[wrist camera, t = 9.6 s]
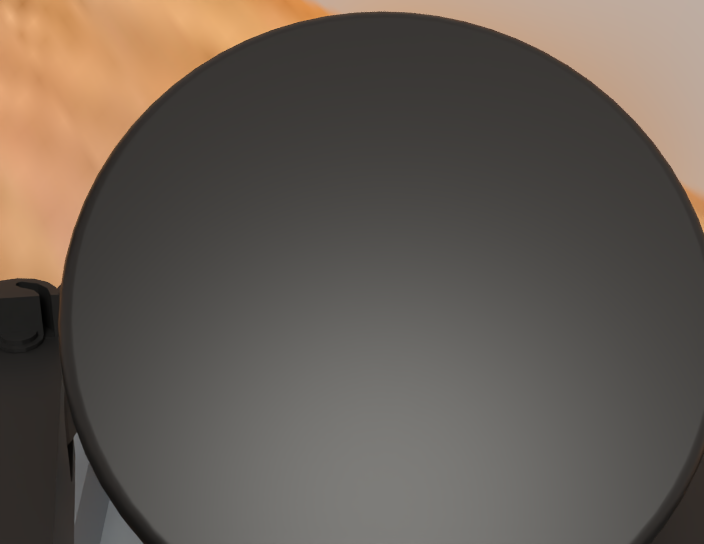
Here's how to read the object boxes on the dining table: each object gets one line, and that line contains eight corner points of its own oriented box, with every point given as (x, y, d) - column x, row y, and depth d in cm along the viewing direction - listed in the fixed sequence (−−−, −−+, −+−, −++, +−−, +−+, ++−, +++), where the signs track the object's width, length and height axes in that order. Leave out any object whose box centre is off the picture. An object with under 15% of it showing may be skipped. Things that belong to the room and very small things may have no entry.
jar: (219, 262, 21) (83, -22, 9) (481, 258, 21) (662, -23, 10) (207, 580, 18) (-6, 732, 6) (510, 569, 18) (815, 695, 7)
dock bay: (68, 605, 20) (8, 631, 16) (161, 185, 25) (131, 129, 21) (562, 662, 20) (617, 702, 16) (566, 233, 25) (610, 186, 21)
